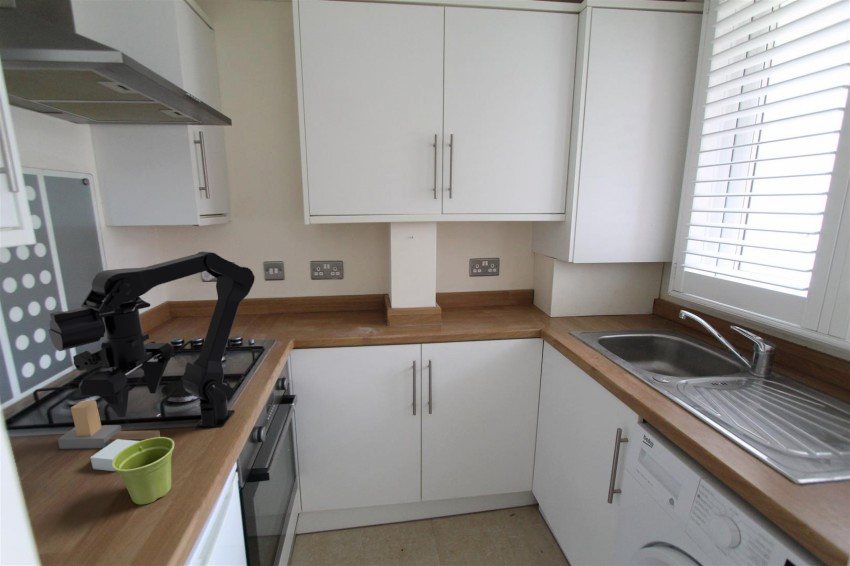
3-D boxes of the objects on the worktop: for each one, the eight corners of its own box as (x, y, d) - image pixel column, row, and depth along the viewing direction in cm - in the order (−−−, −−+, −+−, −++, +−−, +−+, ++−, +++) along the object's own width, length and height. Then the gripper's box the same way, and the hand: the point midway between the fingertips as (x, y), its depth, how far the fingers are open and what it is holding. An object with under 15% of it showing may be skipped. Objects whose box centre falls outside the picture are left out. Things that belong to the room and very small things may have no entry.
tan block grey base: (79, 435, 91) (70, 398, 89) (122, 434, 91) (114, 397, 89) (60, 449, 86) (50, 410, 84) (105, 448, 86) (97, 409, 84)
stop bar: (121, 440, 89) (119, 431, 88) (161, 440, 89) (159, 430, 88) (110, 449, 86) (108, 439, 85) (152, 448, 86) (150, 438, 85)
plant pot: (109, 516, 68) (99, 473, 66) (137, 478, 77) (129, 439, 75) (168, 508, 70) (160, 466, 68) (189, 472, 79) (182, 434, 77)
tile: (119, 451, 86) (117, 439, 85) (143, 453, 85) (141, 441, 84) (93, 470, 80) (90, 457, 79) (119, 472, 79) (116, 460, 78)
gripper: (118, 318, 87) (131, 383, 90) (39, 352, 68) (59, 431, 72) (169, 318, 87) (180, 382, 90) (103, 352, 69) (120, 430, 72)
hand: (138, 404), depth 81 cm, fingers open, 9 cm apart
